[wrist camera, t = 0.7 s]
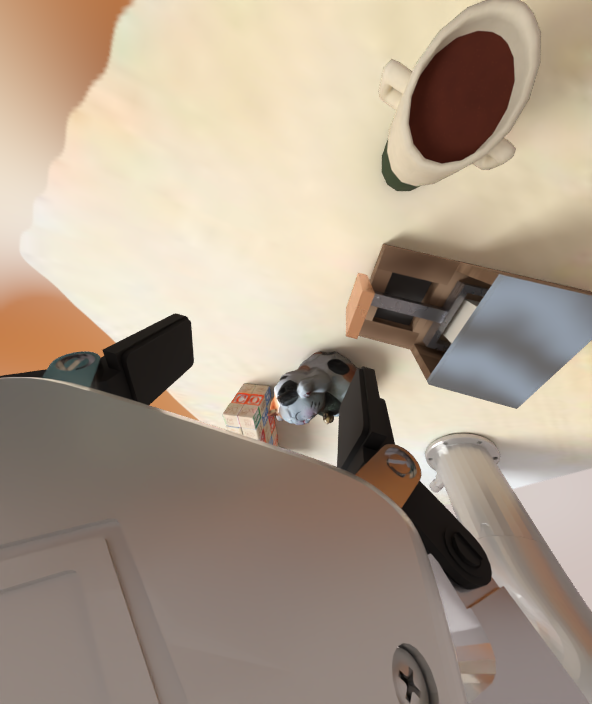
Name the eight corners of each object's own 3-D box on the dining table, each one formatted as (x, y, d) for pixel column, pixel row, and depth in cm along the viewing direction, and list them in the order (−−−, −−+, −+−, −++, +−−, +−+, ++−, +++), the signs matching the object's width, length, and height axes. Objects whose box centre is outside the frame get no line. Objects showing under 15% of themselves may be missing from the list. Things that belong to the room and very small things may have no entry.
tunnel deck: (515, 370, 33) (581, 426, 24) (352, 327, 35) (353, 363, 26) (590, 291, 26) (724, 326, 17) (383, 243, 28) (401, 251, 19)
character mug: (478, 145, 22) (607, 65, 11) (425, 217, 26) (483, 209, 15) (391, 84, 21) (439, -69, 10) (350, 167, 25) (353, 120, 14)
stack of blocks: (243, 382, 46) (213, 426, 36) (270, 384, 45) (247, 431, 35) (257, 445, 57) (237, 493, 47) (279, 448, 56) (263, 499, 45)
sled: (482, 356, 30) (531, 402, 22) (342, 319, 32) (341, 349, 24) (529, 298, 26) (612, 329, 18) (362, 258, 27) (369, 271, 19)
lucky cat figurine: (332, 414, 45) (288, 461, 36) (297, 371, 47) (247, 405, 38) (383, 387, 34) (338, 445, 25) (335, 332, 36) (277, 368, 27)
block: (477, 341, 30) (504, 364, 24) (440, 331, 30) (460, 353, 25) (502, 307, 27) (538, 326, 22) (462, 297, 27) (488, 313, 22)
